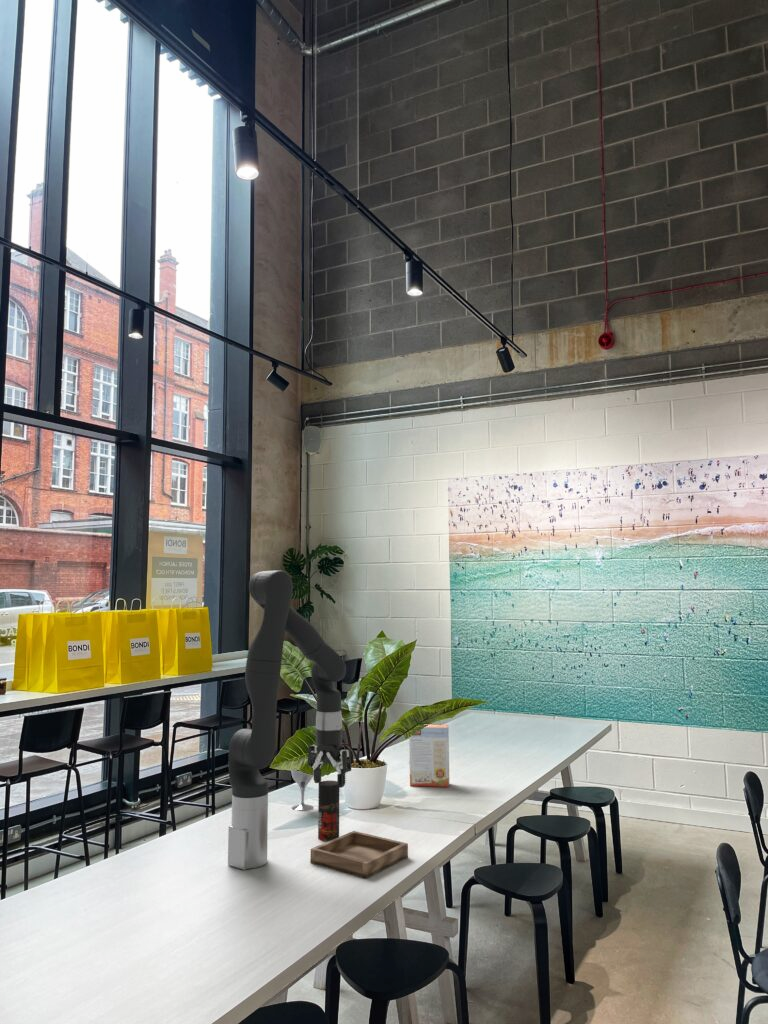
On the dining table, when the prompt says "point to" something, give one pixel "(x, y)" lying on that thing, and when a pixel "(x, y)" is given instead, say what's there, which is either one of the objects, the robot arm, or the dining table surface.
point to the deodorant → (328, 811)
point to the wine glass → (302, 788)
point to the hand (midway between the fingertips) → (329, 784)
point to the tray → (359, 854)
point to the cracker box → (430, 756)
